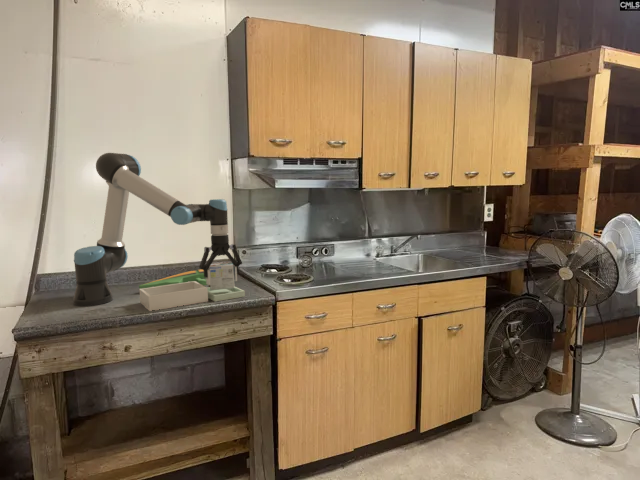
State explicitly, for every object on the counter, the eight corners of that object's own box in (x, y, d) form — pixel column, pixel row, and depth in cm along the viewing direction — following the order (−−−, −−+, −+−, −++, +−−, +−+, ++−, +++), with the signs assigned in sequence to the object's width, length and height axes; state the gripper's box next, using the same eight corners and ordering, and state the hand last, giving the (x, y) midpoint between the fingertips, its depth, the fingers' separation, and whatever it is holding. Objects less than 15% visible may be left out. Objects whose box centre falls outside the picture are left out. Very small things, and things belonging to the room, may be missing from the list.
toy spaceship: (142, 296, 203) (141, 280, 202) (136, 291, 211) (135, 276, 210) (209, 285, 222) (208, 270, 221) (200, 281, 230) (200, 267, 229)
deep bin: (149, 311, 177) (148, 296, 177) (140, 302, 191) (139, 289, 190) (208, 301, 191) (207, 287, 190) (195, 293, 204) (194, 281, 203)
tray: (214, 301, 190) (214, 295, 189) (200, 293, 204) (200, 288, 203) (245, 296, 198) (244, 290, 197) (229, 289, 212) (229, 284, 211)
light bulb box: (234, 285, 205) (233, 262, 203) (234, 288, 198) (233, 264, 197) (210, 287, 202) (208, 263, 201) (210, 290, 196) (208, 266, 194)
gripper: (195, 237, 187) (198, 288, 190) (248, 232, 201) (250, 280, 204) (189, 236, 193) (192, 284, 196) (241, 231, 207) (243, 277, 210)
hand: (222, 282), depth 200 cm, fingers closed on light bulb box, 12 cm apart
